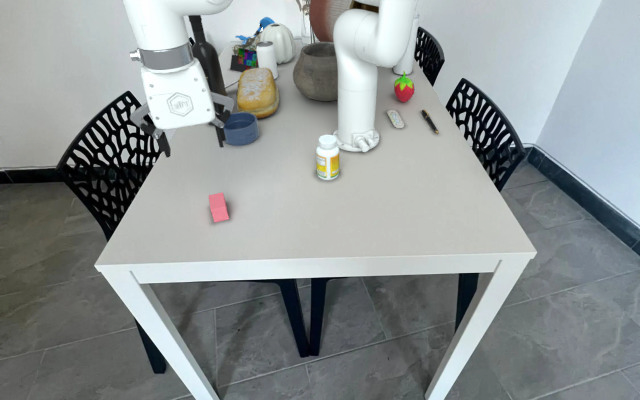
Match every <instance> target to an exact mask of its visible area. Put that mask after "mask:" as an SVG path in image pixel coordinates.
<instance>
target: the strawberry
mask: <svg viewBox="0 0 640 400" xmlns="http://www.w3.org/2000/svg"><path fill="white" fill-rule="evenodd" d="M393 83H394V84H393V88H394V89H393V91H394V94H395V97H396V98H397V99H398V100H399V101H400V102H402V103H407V102H409V101H410V100H411V99H412V98H413V95H414V94H415V90H416V89H415V85H414V82H413V81H412V80H411V78H409V77H407V75H406V74H405V71H403V75H401V76H400V77H398V78H396V79H395V81H394V82H393Z"/></svg>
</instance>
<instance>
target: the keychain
mask: <svg viewBox="0 0 640 400" xmlns="http://www.w3.org/2000/svg"><path fill="white" fill-rule="evenodd" d="M386 115H387V116H388V118H389V120H390V122H391V124H392V126H393V127H394V128H396V129H403V128H404V127H405V122H404V120H403V119H402V117H401V116H400V114H399V113H398V111H397V110H395V109H389V110H387V111H386Z"/></svg>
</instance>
